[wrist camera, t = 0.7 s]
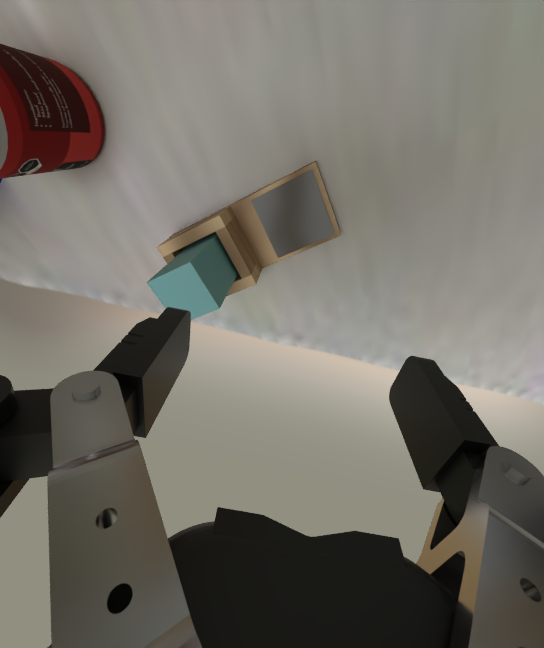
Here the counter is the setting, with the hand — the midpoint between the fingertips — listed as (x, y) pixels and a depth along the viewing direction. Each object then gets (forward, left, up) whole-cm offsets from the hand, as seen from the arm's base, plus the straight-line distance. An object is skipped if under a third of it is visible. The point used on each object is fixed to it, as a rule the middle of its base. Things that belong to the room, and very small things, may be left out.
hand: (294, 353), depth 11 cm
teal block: (+9, -1, -20) cm, 22 cm away
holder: (+5, -1, -21) cm, 22 cm away
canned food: (+16, -17, -21) cm, 32 cm away
